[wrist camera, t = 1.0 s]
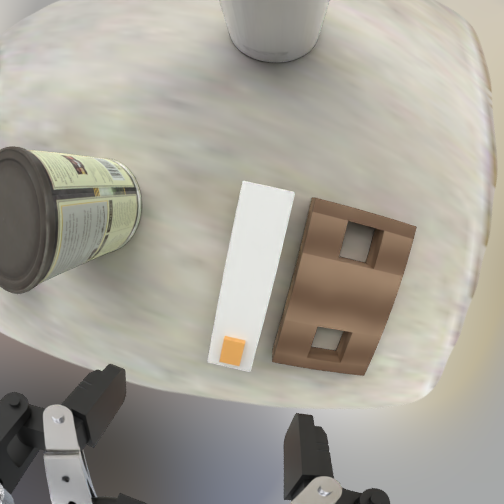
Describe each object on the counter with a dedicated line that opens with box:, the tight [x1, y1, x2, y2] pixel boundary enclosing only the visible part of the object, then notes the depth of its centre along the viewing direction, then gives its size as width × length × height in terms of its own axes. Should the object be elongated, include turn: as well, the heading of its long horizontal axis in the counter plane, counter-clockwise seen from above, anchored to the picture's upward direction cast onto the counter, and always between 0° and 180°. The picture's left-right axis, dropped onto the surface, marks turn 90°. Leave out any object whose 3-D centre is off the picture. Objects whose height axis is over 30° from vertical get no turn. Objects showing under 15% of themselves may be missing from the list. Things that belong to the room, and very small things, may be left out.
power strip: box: [207, 181, 295, 372], centre depth 25 cm, size 16×4×6 cm, turn 168°
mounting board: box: [272, 198, 416, 376], centre depth 26 cm, size 16×10×2 cm, turn 168°
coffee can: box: [0, 147, 141, 294], centre depth 21 cm, size 10×10×14 cm
